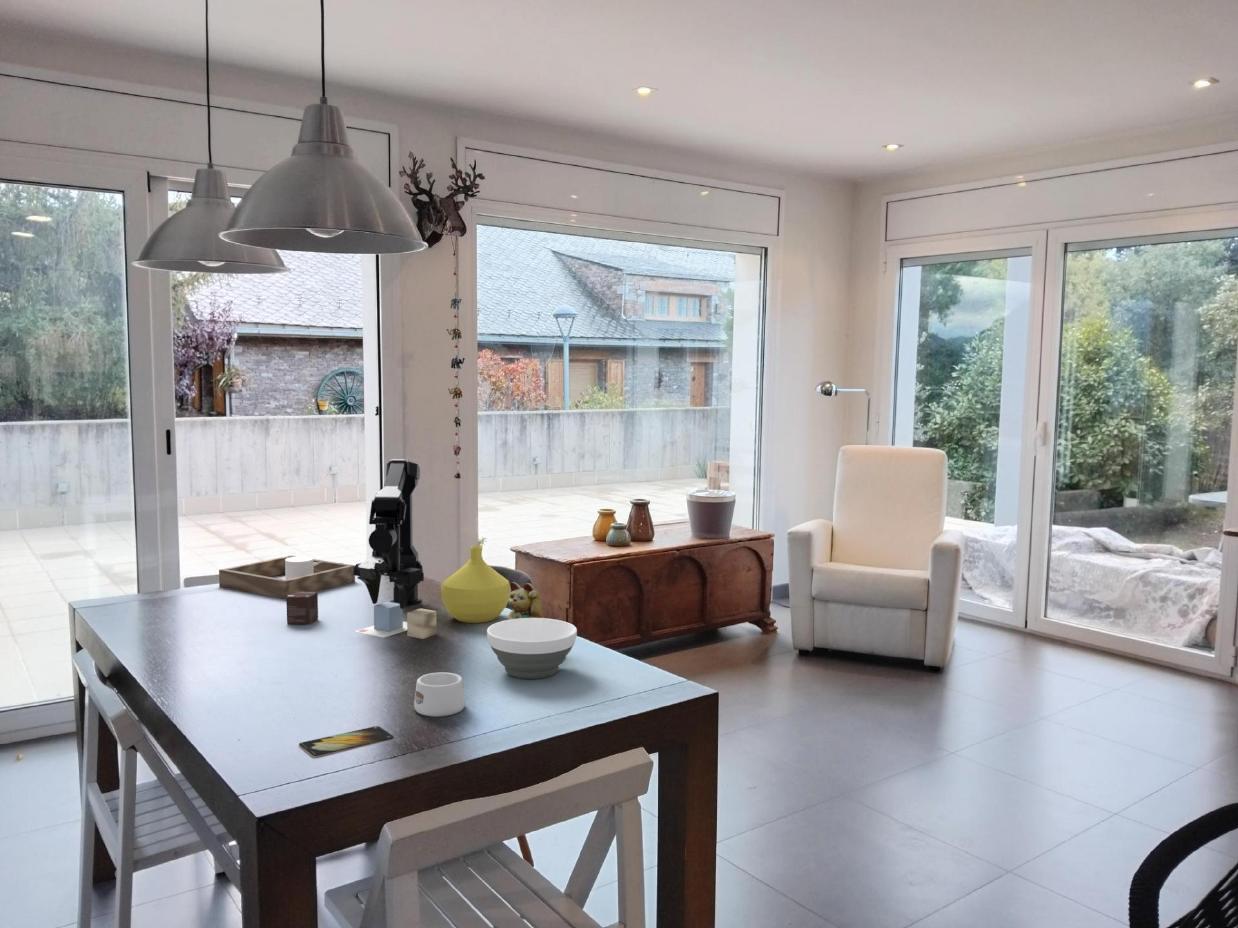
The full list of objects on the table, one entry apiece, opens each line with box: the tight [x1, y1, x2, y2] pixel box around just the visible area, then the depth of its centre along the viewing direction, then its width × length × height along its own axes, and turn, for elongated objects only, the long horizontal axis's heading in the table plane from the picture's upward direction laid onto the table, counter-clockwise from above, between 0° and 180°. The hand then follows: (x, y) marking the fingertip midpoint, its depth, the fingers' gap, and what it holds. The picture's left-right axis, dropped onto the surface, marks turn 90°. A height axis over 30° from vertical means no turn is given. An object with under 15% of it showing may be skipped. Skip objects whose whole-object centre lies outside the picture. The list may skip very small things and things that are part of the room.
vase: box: [440, 545, 512, 624], centre depth 251 cm, size 18×18×19 cm
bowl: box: [486, 617, 578, 680], centre depth 208 cm, size 20×20×10 cm
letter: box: [353, 620, 407, 639], centre depth 241 cm, size 14×10×1 cm
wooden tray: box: [218, 555, 356, 600], centre depth 288 cm, size 27×28×5 cm
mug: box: [413, 671, 466, 718], centre depth 185 cm, size 12×10×6 cm
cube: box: [373, 601, 404, 632], centre depth 240 cm, size 5×5×6 cm
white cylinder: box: [284, 555, 323, 580], centre depth 289 cm, size 20×19×8 cm
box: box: [285, 591, 319, 625], centre depth 246 cm, size 6×6×7 cm
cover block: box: [406, 608, 437, 640], centre depth 235 cm, size 5×5×6 cm
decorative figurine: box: [506, 581, 543, 620], centre depth 230 cm, size 10×8×15 cm
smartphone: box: [298, 725, 395, 759], centre depth 168 cm, size 7×1×15 cm
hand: (388, 606), depth 240 cm, fingers open, 9 cm apart
